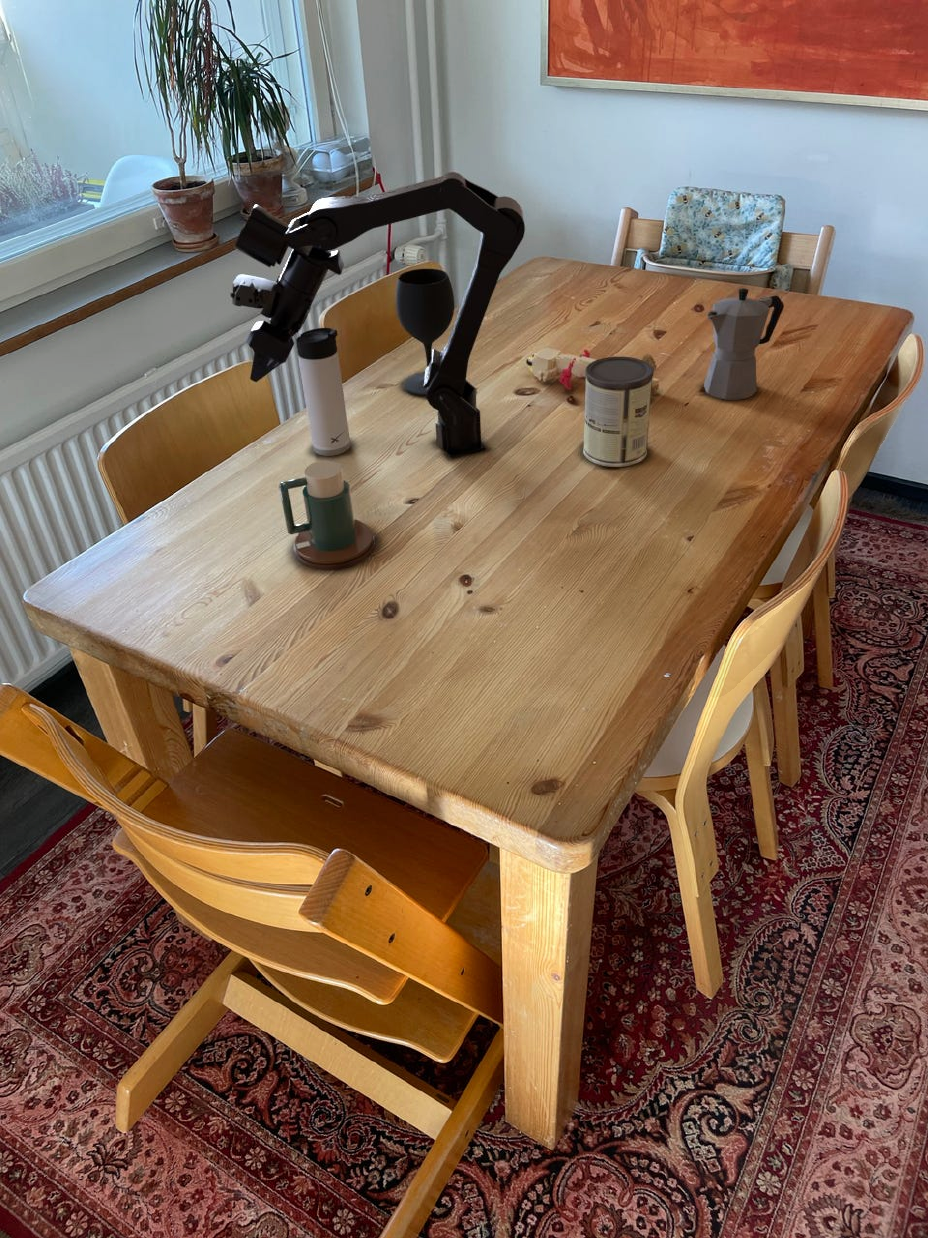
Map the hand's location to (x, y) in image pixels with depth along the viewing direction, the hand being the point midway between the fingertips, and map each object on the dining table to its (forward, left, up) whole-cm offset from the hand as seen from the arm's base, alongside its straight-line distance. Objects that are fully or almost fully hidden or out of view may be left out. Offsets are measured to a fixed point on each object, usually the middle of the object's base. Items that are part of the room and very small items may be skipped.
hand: (259, 368), depth 148 cm
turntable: (0, +32, -15) cm, 36 cm away
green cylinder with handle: (0, +32, -15) cm, 36 cm away
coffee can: (-49, +27, -15) cm, 58 cm away
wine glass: (-33, -12, -15) cm, 38 cm away
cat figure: (-58, +3, -15) cm, 60 cm away
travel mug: (-9, +3, -15) cm, 18 cm away
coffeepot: (-80, +17, -15) cm, 83 cm away
